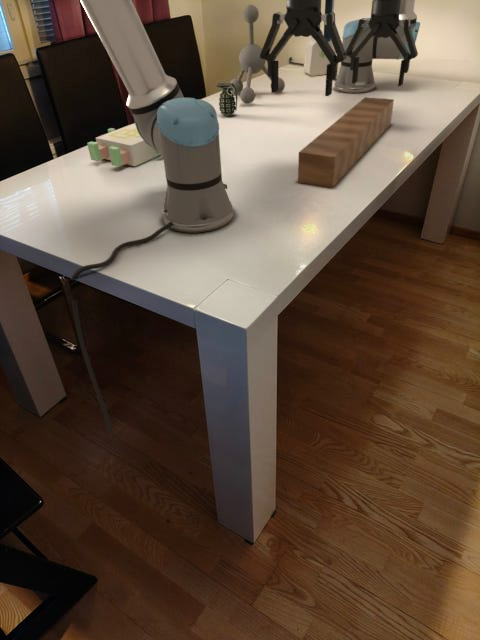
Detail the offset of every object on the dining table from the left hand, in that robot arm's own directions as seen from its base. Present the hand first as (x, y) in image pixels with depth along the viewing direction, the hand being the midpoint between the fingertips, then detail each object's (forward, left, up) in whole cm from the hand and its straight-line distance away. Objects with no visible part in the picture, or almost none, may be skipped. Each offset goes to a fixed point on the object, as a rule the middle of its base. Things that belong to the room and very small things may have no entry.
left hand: (301, 93), depth 117 cm
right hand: (+39, -8, -6) cm, 40 cm away
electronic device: (+107, +35, -18) cm, 114 cm away
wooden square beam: (+17, -8, -18) cm, 26 cm away
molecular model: (+63, +43, -18) cm, 78 cm away
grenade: (+36, +42, -18) cm, 58 cm away
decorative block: (-6, +48, -18) cm, 52 cm away
